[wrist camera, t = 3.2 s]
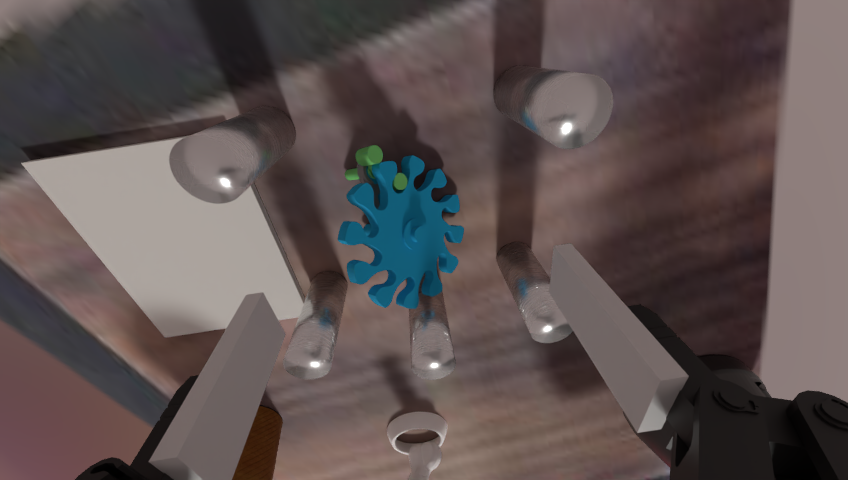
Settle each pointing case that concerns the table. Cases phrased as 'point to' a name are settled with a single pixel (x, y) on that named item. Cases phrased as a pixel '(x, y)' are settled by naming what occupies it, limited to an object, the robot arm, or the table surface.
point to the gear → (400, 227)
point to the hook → (420, 454)
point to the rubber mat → (170, 237)
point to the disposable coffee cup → (260, 447)
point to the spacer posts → (429, 330)
